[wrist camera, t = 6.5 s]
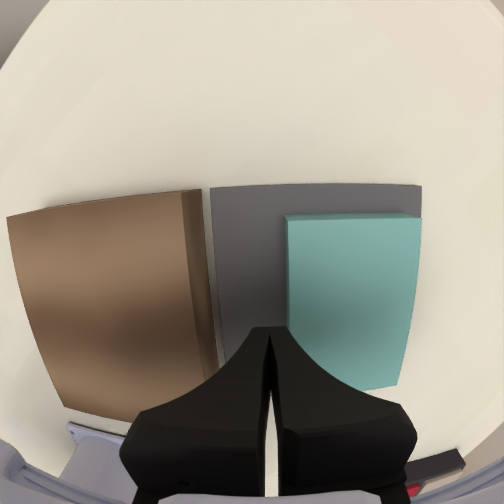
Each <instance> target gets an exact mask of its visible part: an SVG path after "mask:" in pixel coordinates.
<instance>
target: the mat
mask: <svg viewBox="0 0 504 504" xmlns="http://www.w3.org/2000/svg"><path fill="white" fill-rule="evenodd" d="M210 198H211V213H212V227H213V240H214V252H215V264H216V276H217V287H218V297H219V308H220V317H221V327H222V336H223V345H224V354H225V363H227V361H228V360H229V359H230V358H231V357H232V356H233V355H234V354H235V352H236V351H237V350H238V348H239V347H240V346H241V345H242V343H243V342H244V340H245V339H246V337H247V336H248V334H249V332H250V330H251V329H252V328H253V327H272V326H286V327H287V291H286V247H285V217H284V215H298V214H332V213H406V214H409V215H412V216H416V217H419V218H421V201H422V186H414V185H389V184H283V185H257V186H237V187H221V188H210ZM270 396H272V394H271V393H270Z"/></svg>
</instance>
